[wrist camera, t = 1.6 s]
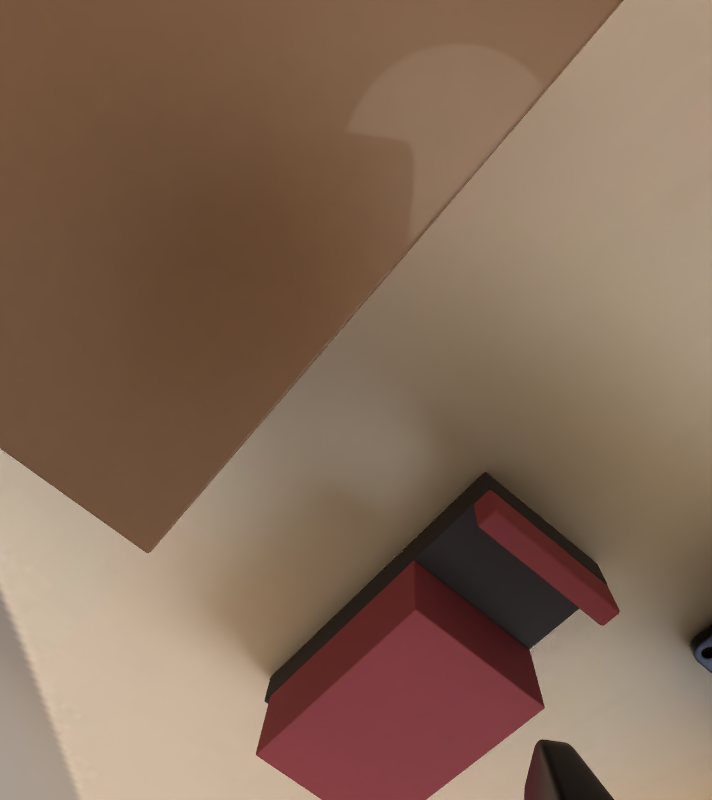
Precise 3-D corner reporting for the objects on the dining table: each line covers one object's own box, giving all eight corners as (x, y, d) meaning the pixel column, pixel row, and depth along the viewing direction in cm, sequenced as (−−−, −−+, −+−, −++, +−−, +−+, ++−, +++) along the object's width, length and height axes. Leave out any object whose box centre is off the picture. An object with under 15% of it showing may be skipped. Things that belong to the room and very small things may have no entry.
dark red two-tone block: (598, 564, 22) (635, 638, 19) (374, 751, 26) (370, 843, 22) (485, 471, 21) (501, 530, 18) (270, 677, 25) (247, 761, 22)
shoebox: (574, 25, 17) (682, -68, 10) (225, 440, 22) (147, 555, 15) (311, -242, 16) (245, -547, 9) (-2, 265, 20) (-196, 310, 14)
